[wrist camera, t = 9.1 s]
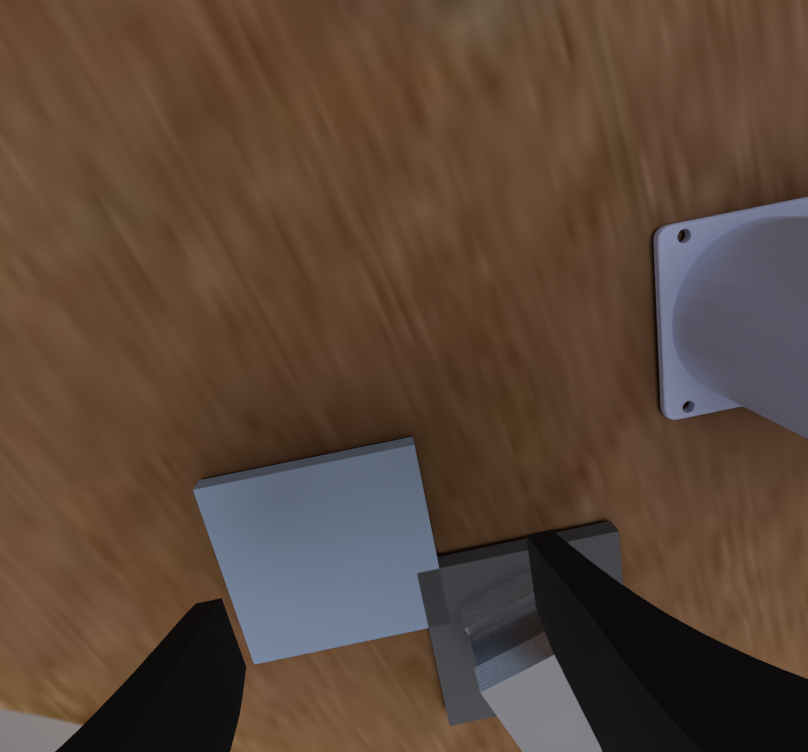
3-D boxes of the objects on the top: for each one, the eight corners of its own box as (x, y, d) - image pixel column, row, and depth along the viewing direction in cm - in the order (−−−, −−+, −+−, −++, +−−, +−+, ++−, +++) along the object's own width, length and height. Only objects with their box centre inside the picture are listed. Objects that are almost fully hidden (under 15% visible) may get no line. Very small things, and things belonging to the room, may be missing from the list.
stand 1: (412, 436, 22) (414, 444, 21) (447, 610, 24) (450, 623, 24) (199, 480, 22) (192, 490, 21) (257, 650, 24) (254, 664, 24)
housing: (592, 654, 25) (640, 745, 21) (518, 691, 25) (549, 789, 21) (538, 563, 23) (578, 642, 19) (459, 605, 23) (480, 693, 19)
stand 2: (610, 520, 24) (618, 531, 23) (622, 673, 26) (630, 687, 26) (415, 561, 24) (416, 573, 23) (447, 710, 26) (449, 725, 25)
